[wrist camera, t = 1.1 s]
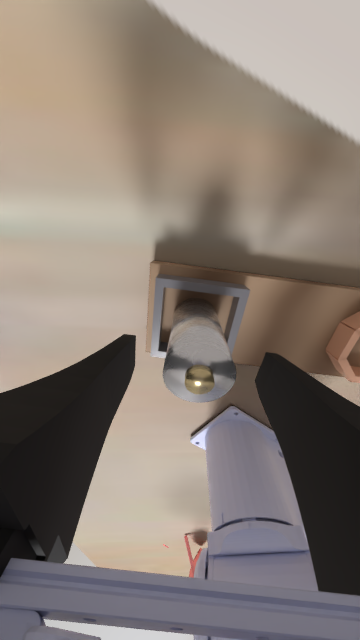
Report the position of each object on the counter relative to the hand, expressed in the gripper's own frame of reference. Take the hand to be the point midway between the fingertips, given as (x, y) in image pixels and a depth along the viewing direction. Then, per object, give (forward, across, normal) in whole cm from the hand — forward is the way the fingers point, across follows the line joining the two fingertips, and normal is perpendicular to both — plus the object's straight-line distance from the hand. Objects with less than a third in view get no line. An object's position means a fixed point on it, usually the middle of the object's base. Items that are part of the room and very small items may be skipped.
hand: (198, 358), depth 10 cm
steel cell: (+6, 0, 0) cm, 6 cm away
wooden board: (+7, -8, 0) cm, 10 cm away
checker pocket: (+6, 0, 0) cm, 6 cm away
